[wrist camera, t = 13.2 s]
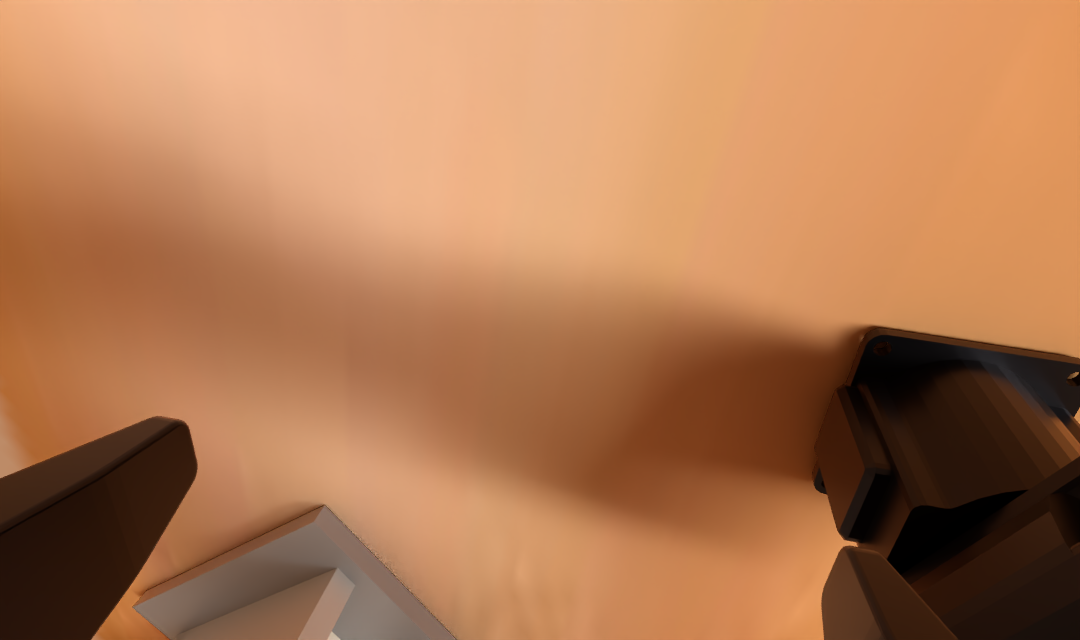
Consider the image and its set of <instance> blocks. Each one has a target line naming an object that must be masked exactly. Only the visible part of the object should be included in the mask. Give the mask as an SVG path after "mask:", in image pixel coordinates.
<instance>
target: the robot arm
mask: <svg viewBox="0 0 1080 640" xmlns="http://www.w3.org/2000/svg"><path fill="white" fill-rule="evenodd" d="M879 342H888V344H887V345H886V347H884V348H882V349H874V346H875V345H876V344H877V343H879ZM1075 372H1079V374H1078V375H1077V376H1076V377H1074V378H1072V379H1067V377H1068V376H1069V375H1070V374H1072V373H1075ZM1079 408H1080V359H1079V358H1075V357H1068V356H1062V355H1055V354H1049V353H1042V352H1035V351H1029V350H1022V349H1016V348H1009V347H1003V346H996V345H990V344H983V343H977V342H970V341H963V340H957V339H950V338H944V337H937V336H931V335H924V334H918V333H911V332H905V331H898V330H892V329H885V328H878V329H875V330H872V331H870V332H869V333H867V334H866V335H865V336H864V338H863V339H862V342H861V345H860V347H859V350H858V353H857V355H856V358H855V361H854V363H853V366H852V369H851V371H850V374H849V377H848V379H847V382H846V385H842V386H840V387H839V388H838V389H836V390H835V392H834V395H833V397H832V400H831V403H830V405H829V408H828V411H827V414H826V416H825V419H824V422H823V424H822V427H821V430H820V433H819V435H818V438H817V441H816V444H815V447H814V448H815V452H816V456H817V462H816V464H815V467H814V470H813V472H812V480H813V483H814V486H815V488H816V490H818V491H819V492H821V493H823V494H827V495H828V499H829V503H830V506H831V510H832V513H833V517H834V520H835V524H836V528H837V531H838V532H839V534H840V535H841V536H842V538H843V539H844V540H847V541H852V542H856V543H857V546H858V547H854V546H845V547H843V548H842V549H841V550H840V552H839V553H838V556H837V558H836V560H835V563H834V565H833V567H832V569H831V572H830V574H829V576H828V579H827V581H826V583H825V586H824V588H823V593H822V603H821V605H822V619H823V632H824V640H1080V424H1079V423H1078V422H1077V421H1076V420H1075V418H1074V416H1075V414H1076V413H1077V411H1078V409H1079ZM196 473H197V459H196V455H195V451H194V446H193V442H192V438H191V433H190V429H189V427H188V425H187V424H186V423H185V422H184V421H182V420H179V419H173V418H168V417H162V416H156V417H152V418H149V419H146V420H144V421H141V422H139V423H137V424H134V425H132V426H129V427H127V428H124V429H122V430H119V431H117V432H114V433H112V434H109V435H107V436H104V437H102V438H99V439H97V440H94V441H92V442H89V443H87V444H84V445H82V446H79V447H77V448H75V449H72V450H70V451H67V452H65V453H62V454H60V455H57V456H55V457H52V458H50V459H47V460H45V461H42V462H40V463H37V464H35V465H32V466H30V467H27V468H25V469H22V470H20V471H17V472H15V473H13V474H10V475H8V476H5V477H3V478H0V640H91V639H92V638H93V636H94V635H95V634H96V632H97V631H98V630H99V628H100V627H101V625H102V624H103V623H104V621H105V620H106V619H107V617H108V616H109V614H110V613H111V612H112V610H113V609H114V608H115V606H116V605H117V604H118V602H119V601H120V599H121V598H122V597H123V595H124V594H125V593H126V591H127V590H128V588H129V587H130V585H131V584H132V583H133V581H134V580H135V578H136V577H137V575H138V574H139V572H140V570H141V569H142V567H143V566H144V564H145V563H146V561H147V559H148V558H149V556H150V554H151V553H152V551H153V549H154V548H155V546H156V544H157V543H158V541H159V539H160V537H161V536H162V534H163V532H164V531H165V529H166V527H167V526H168V524H169V522H170V521H171V519H172V517H173V516H174V514H175V512H176V510H177V509H178V507H179V505H180V504H181V502H182V500H183V499H184V497H185V495H186V494H187V492H188V490H189V489H190V487H191V485H192V483H193V481H194V479H195V477H196Z"/></svg>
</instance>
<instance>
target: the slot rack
mask: <svg viewBox="0 0 1080 640" xmlns="http://www.w3.org/2000/svg"><path fill="white" fill-rule="evenodd" d="M132 608H134V609H135V610H136V611H137V612H138V613H139V614H141V615H142V616H143V617H144V618H145V619H147V620H148V621H149V622H150V623H151V624H153V625H154V626H155V627H156V628H157V629H158V630H160V631H161V632H162V633H163V634H164V635H166V636H167V637H168V638H169V639H170V640H327V639H328V637H329V635H330V633H331V631H332V632H333V633H334V634H335V635H336V636H337V637H338V638H339V639H340V640H456V639H455V638H454V637H453V636H452V635H451V634H450V633H449V632H448V631H447V630H446V629H445V628H444V626H443V625H442V624H441V623H440V622H439V621H438V620H437V619H436V618H435V617H434V616H433V615H432V614H431V613H430V612H429V611H428V610H427V609H426V608H425V607H424V606H423V605H422V604H421V603H420V602H419V601H418V600H417V599H416V598H415V597H414V596H413V595H412V594H411V593H410V592H409V591H408V590H407V589H406V588H405V587H404V586H403V585H402V584H401V583H400V582H399V580H398V579H397V578H396V577H395V576H394V575H393V574H392V573H391V572H390V571H389V570H388V569H387V568H386V567H385V566H384V565H383V564H382V563H381V562H380V561H379V560H378V559H377V558H376V557H375V556H374V555H373V554H372V553H371V552H370V551H369V550H368V549H367V548H366V547H365V546H364V545H363V544H362V543H361V542H360V541H359V540H358V539H357V538H356V537H355V535H354V534H353V533H352V532H351V531H350V530H349V529H348V528H347V527H346V526H345V525H344V524H343V523H342V522H341V521H340V520H339V519H338V518H337V517H336V516H335V515H334V514H333V513H332V512H331V511H330V510H329V509H328V508H327V507H326V506H325V505H324V506H322V507H320V508H318V509H316V510H313V511H311V512H309V513H307V514H305V515H303V516H301V517H299V518H297V519H295V520H293V521H291V522H289V523H287V524H284V525H282V526H280V527H278V528H276V529H274V530H272V531H270V532H268V533H266V534H264V535H262V536H260V537H257V538H255V539H253V540H251V541H249V542H247V543H245V544H243V545H241V546H239V547H237V548H235V549H233V550H230V551H228V552H226V553H224V554H222V555H220V556H218V557H216V558H214V559H212V560H210V561H208V562H206V563H203V564H201V565H199V566H197V567H195V568H193V569H191V570H189V571H187V572H185V573H183V574H181V575H179V576H176V577H174V578H172V579H170V580H168V581H166V582H164V583H162V584H160V585H158V586H156V587H154V588H152V589H149V590H147V591H146V592H145V593H144V594H143V595H142V596H141V598H140V599H139V600H138V601H137V602H136V604H135V605H134V606H133V607H132Z"/></svg>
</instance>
